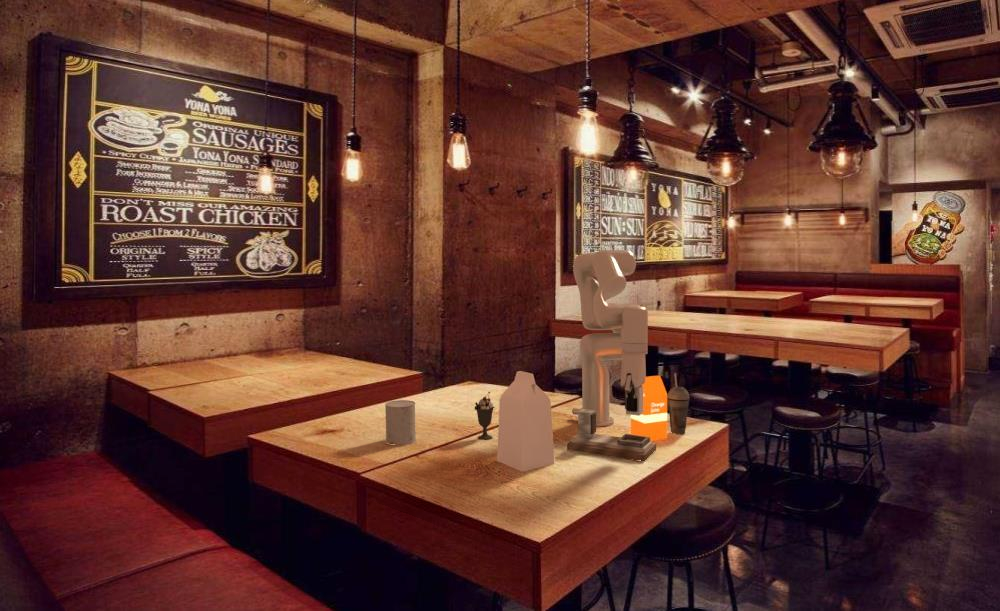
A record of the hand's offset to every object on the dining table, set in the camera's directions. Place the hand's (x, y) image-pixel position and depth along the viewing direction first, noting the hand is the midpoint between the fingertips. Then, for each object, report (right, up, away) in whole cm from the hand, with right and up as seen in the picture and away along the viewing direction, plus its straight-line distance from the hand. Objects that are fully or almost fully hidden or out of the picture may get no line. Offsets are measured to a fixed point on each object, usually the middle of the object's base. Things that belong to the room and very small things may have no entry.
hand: (634, 409), depth 188 cm
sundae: (-45, -13, +20) cm, 50 cm away
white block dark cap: (0, -1, 0) cm, 1 cm away
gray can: (-72, -13, +16) cm, 75 cm away
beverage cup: (+20, -12, +23) cm, 33 cm away
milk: (-33, -14, -6) cm, 36 cm away
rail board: (-6, -13, +5) cm, 15 cm away
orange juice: (+9, -12, +18) cm, 24 cm away
